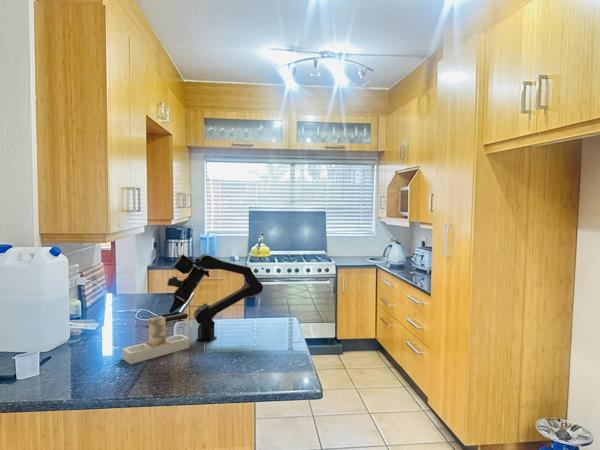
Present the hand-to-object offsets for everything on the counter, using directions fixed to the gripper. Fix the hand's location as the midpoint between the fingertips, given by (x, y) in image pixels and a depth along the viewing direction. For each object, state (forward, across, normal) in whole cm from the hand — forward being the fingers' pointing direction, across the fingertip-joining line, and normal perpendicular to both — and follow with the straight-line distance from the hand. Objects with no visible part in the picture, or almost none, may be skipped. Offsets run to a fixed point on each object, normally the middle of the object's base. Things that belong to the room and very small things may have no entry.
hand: (170, 311), depth 166 cm
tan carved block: (+14, +6, +4) cm, 16 cm away
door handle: (+9, -42, 0) cm, 43 cm away
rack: (+15, +6, +5) cm, 17 cm away
